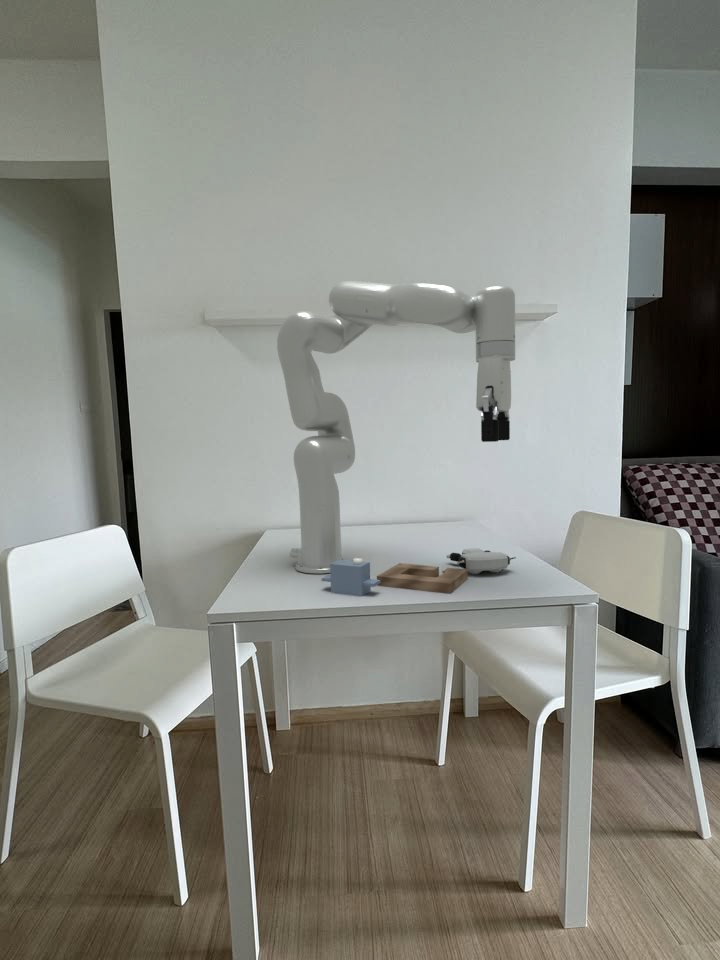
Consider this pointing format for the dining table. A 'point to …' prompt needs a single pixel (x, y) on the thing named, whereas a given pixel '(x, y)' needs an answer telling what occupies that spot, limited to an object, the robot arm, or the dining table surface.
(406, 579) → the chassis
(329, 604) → the dining table surface
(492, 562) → the robot toy
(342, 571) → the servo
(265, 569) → the dining table surface
